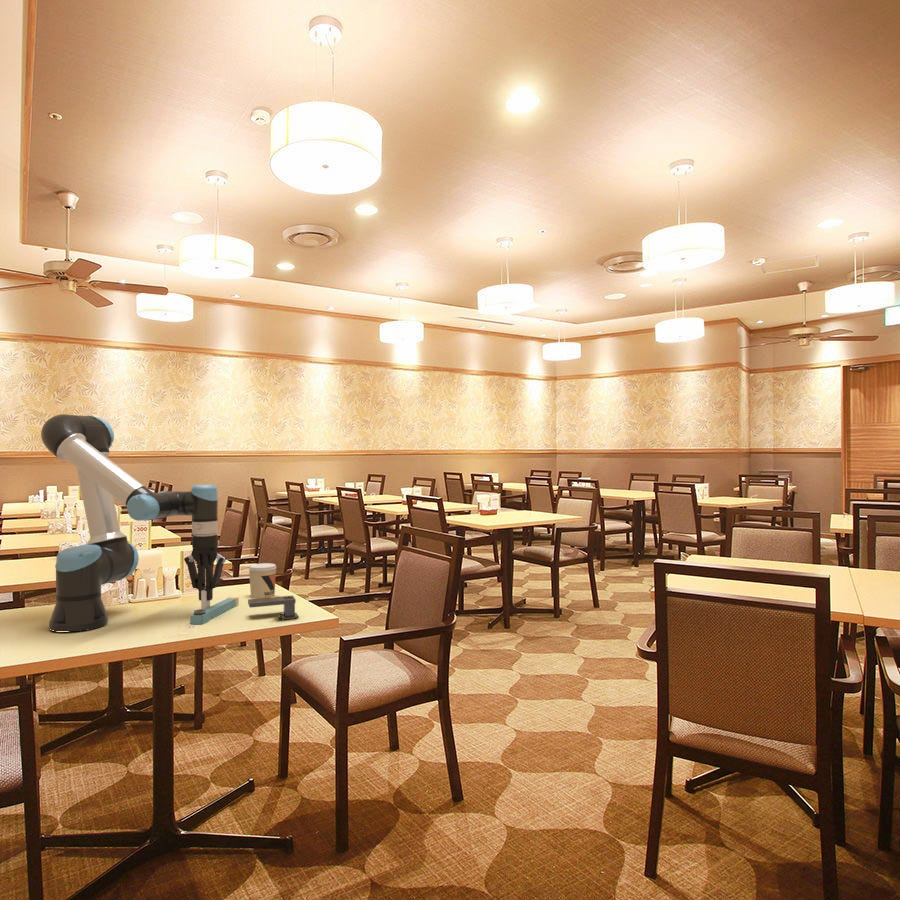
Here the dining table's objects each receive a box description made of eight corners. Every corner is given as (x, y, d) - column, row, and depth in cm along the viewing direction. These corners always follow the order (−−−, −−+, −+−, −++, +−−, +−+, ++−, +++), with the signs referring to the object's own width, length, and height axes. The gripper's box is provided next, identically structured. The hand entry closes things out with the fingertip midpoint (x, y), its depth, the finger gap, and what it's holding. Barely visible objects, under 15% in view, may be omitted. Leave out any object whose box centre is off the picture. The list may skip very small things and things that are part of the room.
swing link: (202, 624, 187) (202, 615, 187) (189, 624, 188) (189, 615, 188) (239, 605, 211) (239, 597, 211) (228, 604, 212) (228, 596, 212)
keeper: (249, 624, 192) (249, 603, 192) (248, 619, 198) (248, 599, 198) (298, 619, 198) (298, 599, 198) (295, 614, 203) (295, 595, 203)
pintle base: (184, 633, 183) (184, 616, 183) (178, 625, 191) (178, 609, 191) (221, 628, 188) (221, 611, 188) (213, 620, 196) (213, 605, 196)
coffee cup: (266, 603, 219) (266, 568, 219) (243, 601, 222) (243, 566, 222) (281, 597, 227) (281, 563, 228) (259, 595, 231) (259, 562, 231)
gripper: (178, 536, 196) (179, 613, 195) (219, 536, 194) (219, 614, 194) (191, 533, 203) (192, 607, 203) (230, 533, 201) (231, 608, 201)
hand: (205, 610), depth 198 cm, fingers closed
